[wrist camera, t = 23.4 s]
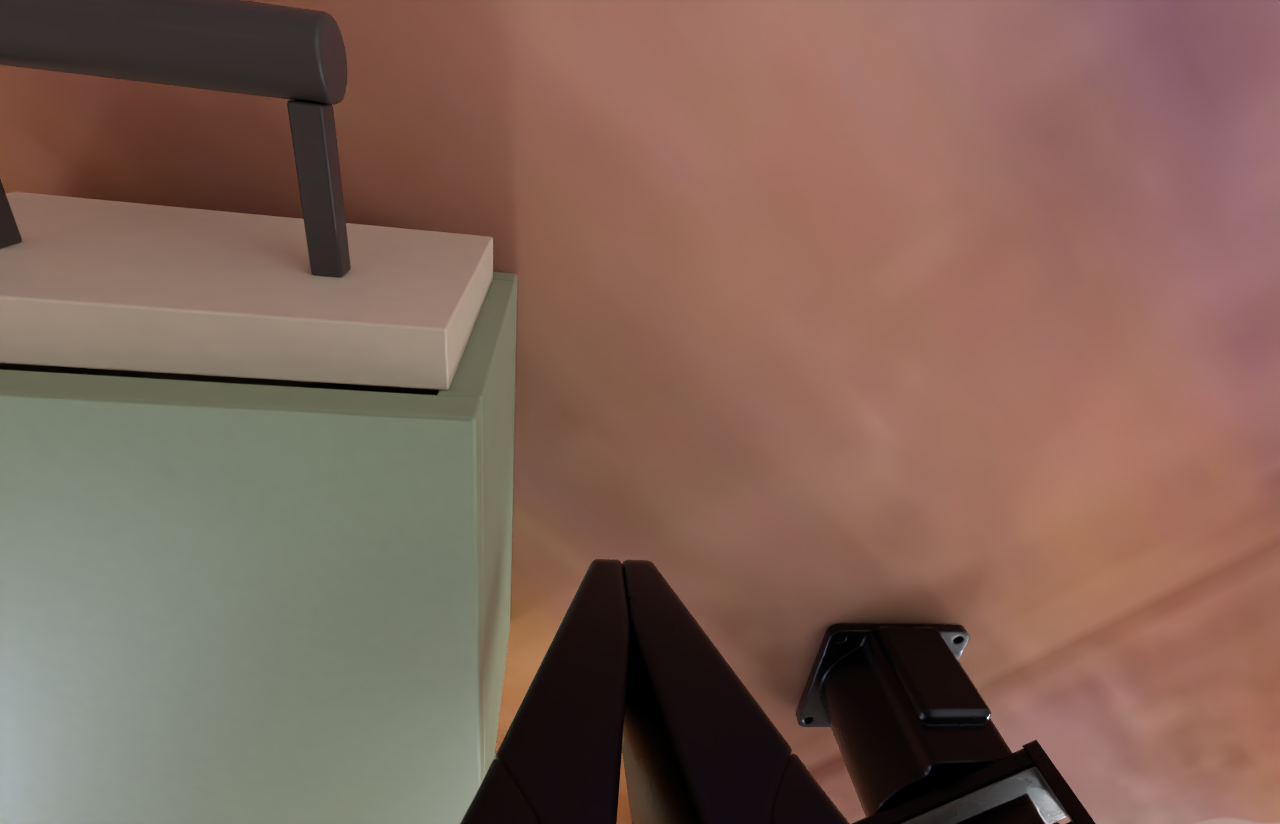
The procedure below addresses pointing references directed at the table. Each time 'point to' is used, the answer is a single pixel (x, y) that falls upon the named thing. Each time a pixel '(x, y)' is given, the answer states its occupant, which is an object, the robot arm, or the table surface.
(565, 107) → the table surface
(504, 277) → the cabinet
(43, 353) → the drawer
